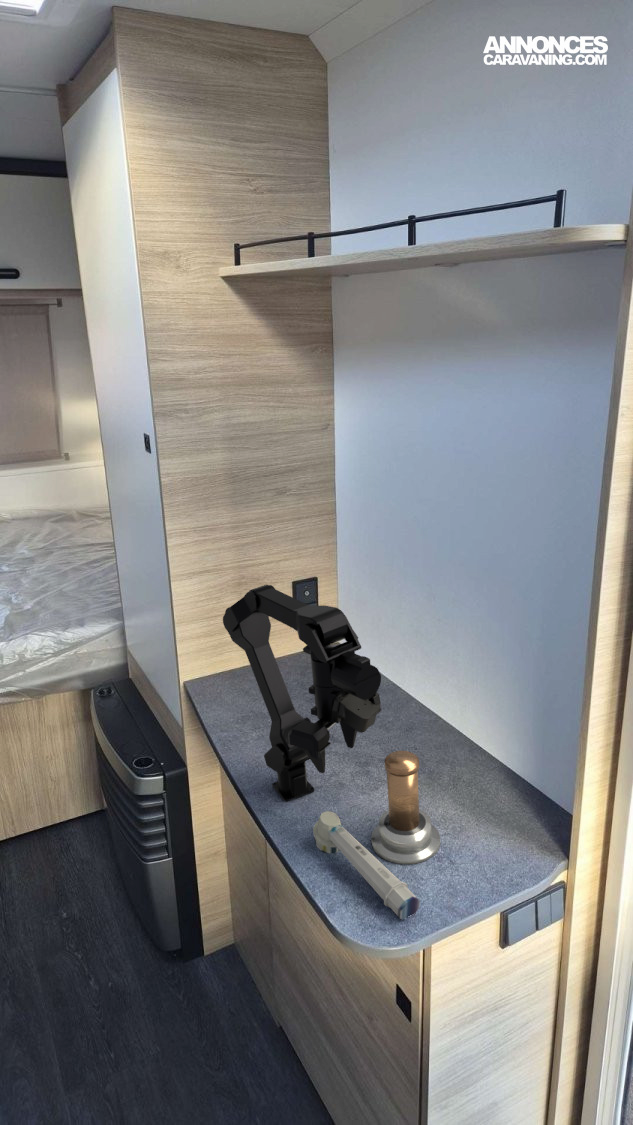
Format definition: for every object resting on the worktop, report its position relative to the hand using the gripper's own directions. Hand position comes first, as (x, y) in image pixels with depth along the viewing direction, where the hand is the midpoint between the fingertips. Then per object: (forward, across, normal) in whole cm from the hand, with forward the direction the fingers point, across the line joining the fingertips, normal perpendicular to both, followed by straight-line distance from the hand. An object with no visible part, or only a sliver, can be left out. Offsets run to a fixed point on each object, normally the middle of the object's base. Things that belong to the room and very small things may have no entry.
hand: (336, 759), depth 141 cm
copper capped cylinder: (+9, +1, -13) cm, 16 cm away
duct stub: (+13, +1, -13) cm, 18 cm away
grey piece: (+14, -10, -10) cm, 20 cm away
